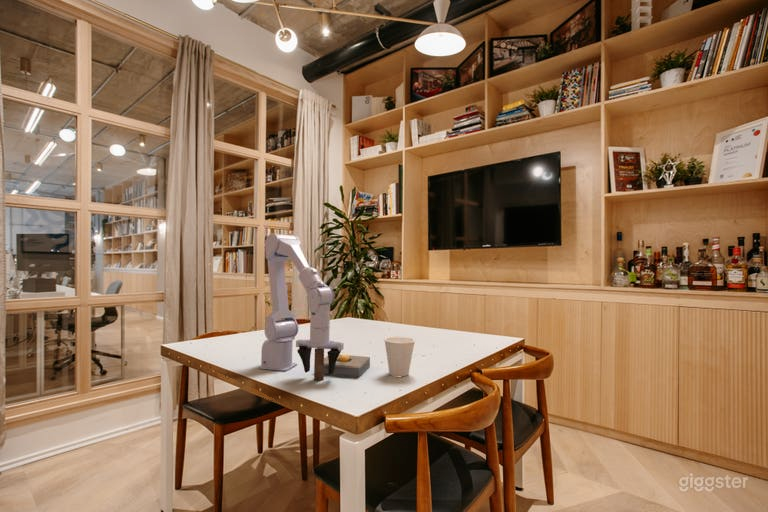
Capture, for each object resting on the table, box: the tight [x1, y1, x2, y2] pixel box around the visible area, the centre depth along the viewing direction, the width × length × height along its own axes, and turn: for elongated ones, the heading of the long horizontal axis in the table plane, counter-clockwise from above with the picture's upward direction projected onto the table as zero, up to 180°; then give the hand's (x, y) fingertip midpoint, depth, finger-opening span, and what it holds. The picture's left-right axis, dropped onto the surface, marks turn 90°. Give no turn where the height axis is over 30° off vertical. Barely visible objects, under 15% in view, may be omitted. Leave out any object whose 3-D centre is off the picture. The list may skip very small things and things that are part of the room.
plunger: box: [339, 354, 349, 362], centre depth 121 cm, size 3×3×2 cm
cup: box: [383, 336, 416, 377], centre depth 118 cm, size 10×10×11 cm
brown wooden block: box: [313, 348, 325, 382], centre depth 111 cm, size 3×3×9 cm
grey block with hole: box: [324, 354, 371, 379], centre depth 121 cm, size 14×12×3 cm
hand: (318, 372), depth 111 cm, fingers open, 7 cm apart
